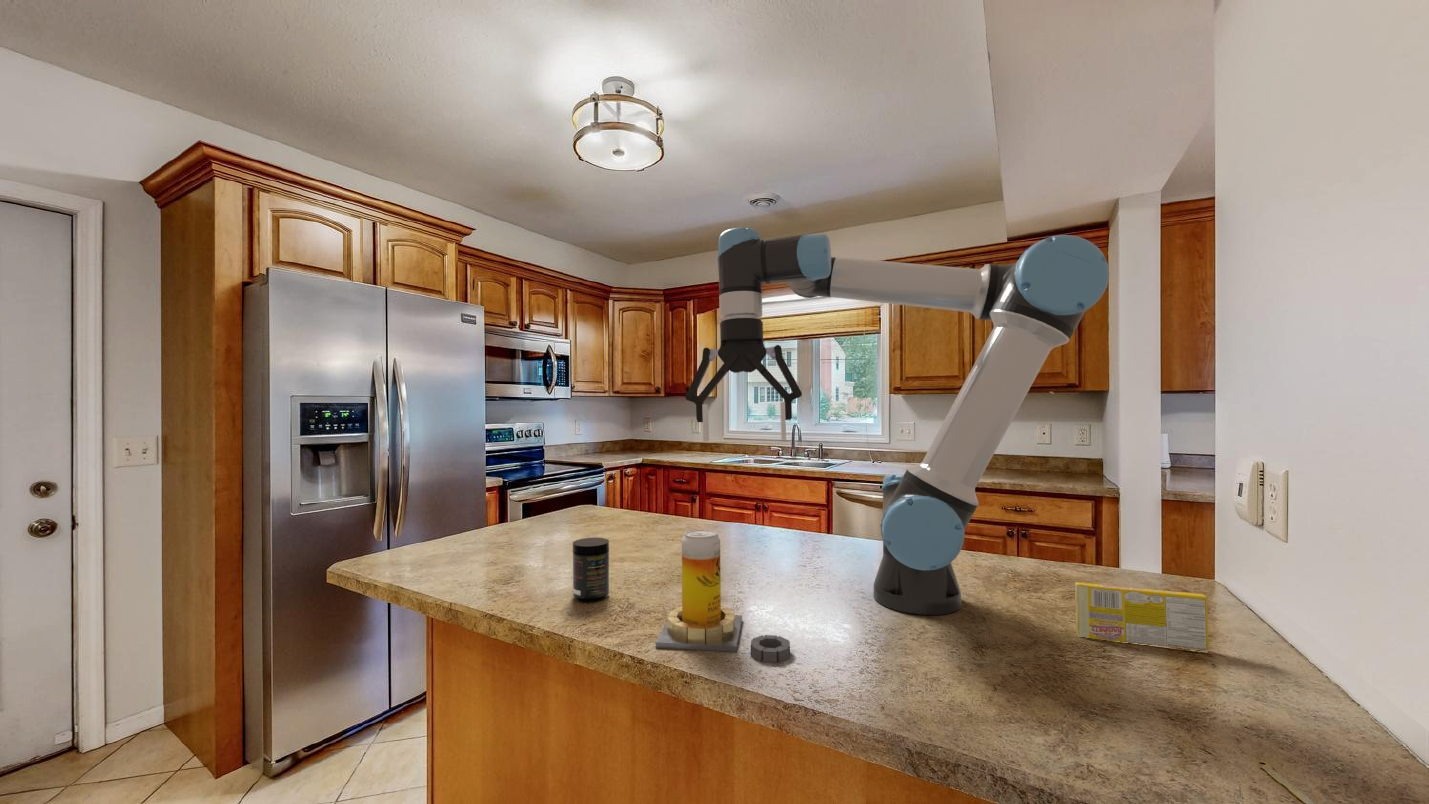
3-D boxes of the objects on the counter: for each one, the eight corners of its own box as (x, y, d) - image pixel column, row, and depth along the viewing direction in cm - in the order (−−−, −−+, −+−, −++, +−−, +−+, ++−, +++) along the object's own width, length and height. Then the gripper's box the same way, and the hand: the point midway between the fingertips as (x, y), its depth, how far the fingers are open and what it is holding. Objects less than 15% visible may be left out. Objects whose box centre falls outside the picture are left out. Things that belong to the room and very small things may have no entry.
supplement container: (617, 596, 106) (616, 540, 106) (588, 606, 101) (588, 548, 101) (593, 589, 110) (593, 535, 110) (565, 598, 105) (564, 542, 105)
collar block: (742, 620, 94) (742, 603, 94) (736, 651, 82) (735, 632, 82) (671, 617, 96) (671, 600, 96) (655, 647, 84) (655, 628, 84)
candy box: (1203, 649, 83) (1203, 593, 83) (1209, 655, 81) (1209, 597, 81) (1074, 632, 89) (1074, 580, 89) (1077, 638, 87) (1077, 584, 87)
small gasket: (789, 646, 84) (789, 636, 84) (790, 663, 79) (790, 652, 79) (752, 644, 85) (752, 634, 85) (749, 661, 79) (749, 650, 79)
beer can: (716, 637, 85) (716, 538, 85) (677, 634, 87) (677, 536, 87) (723, 622, 91) (723, 529, 91) (687, 619, 93) (686, 528, 93)
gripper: (810, 320, 102) (814, 437, 102) (674, 325, 104) (677, 440, 104) (814, 313, 95) (818, 439, 94) (667, 319, 96) (671, 443, 96)
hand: (744, 440), depth 99 cm, fingers open, 13 cm apart
